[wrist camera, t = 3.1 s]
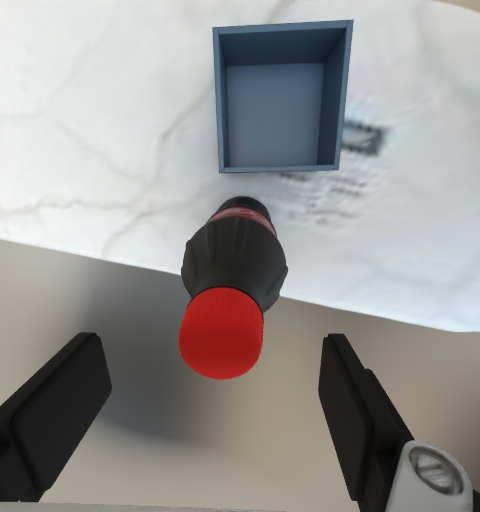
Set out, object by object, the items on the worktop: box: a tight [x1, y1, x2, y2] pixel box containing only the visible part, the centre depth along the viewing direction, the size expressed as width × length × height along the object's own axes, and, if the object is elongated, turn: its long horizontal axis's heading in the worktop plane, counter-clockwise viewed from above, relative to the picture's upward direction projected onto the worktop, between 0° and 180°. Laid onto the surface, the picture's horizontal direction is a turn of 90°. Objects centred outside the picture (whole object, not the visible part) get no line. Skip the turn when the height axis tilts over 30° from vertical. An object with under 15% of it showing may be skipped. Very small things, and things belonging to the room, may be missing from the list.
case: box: [213, 20, 354, 173], centre depth 30 cm, size 14×14×9 cm
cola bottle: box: [178, 197, 288, 379], centre depth 25 cm, size 8×8×30 cm
